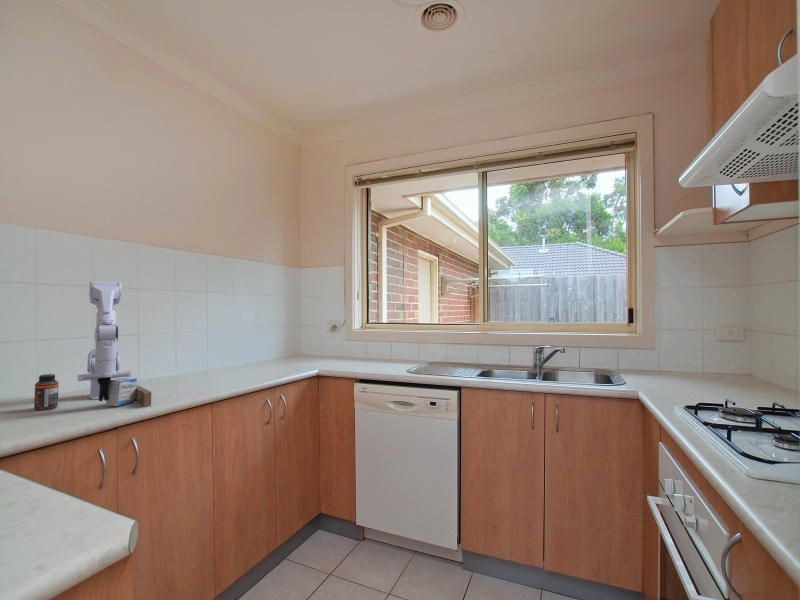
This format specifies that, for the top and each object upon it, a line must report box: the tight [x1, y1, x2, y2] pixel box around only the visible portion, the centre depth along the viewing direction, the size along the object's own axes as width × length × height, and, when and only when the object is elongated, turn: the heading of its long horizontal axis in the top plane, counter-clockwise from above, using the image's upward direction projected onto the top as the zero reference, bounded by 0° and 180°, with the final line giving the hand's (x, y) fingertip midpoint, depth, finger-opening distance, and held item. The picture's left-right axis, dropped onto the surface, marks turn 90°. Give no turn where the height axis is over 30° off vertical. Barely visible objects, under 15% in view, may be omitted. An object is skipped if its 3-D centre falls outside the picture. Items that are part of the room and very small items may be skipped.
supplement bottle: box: [33, 373, 60, 411], centre depth 132 cm, size 6×6×11 cm
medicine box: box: [106, 377, 138, 407], centre depth 138 cm, size 8×4×9 cm, turn 175°
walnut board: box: [134, 384, 152, 408], centre depth 142 cm, size 20×2×5 cm, turn 48°
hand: (104, 400), depth 134 cm, fingers closed, pressing on medicine box
